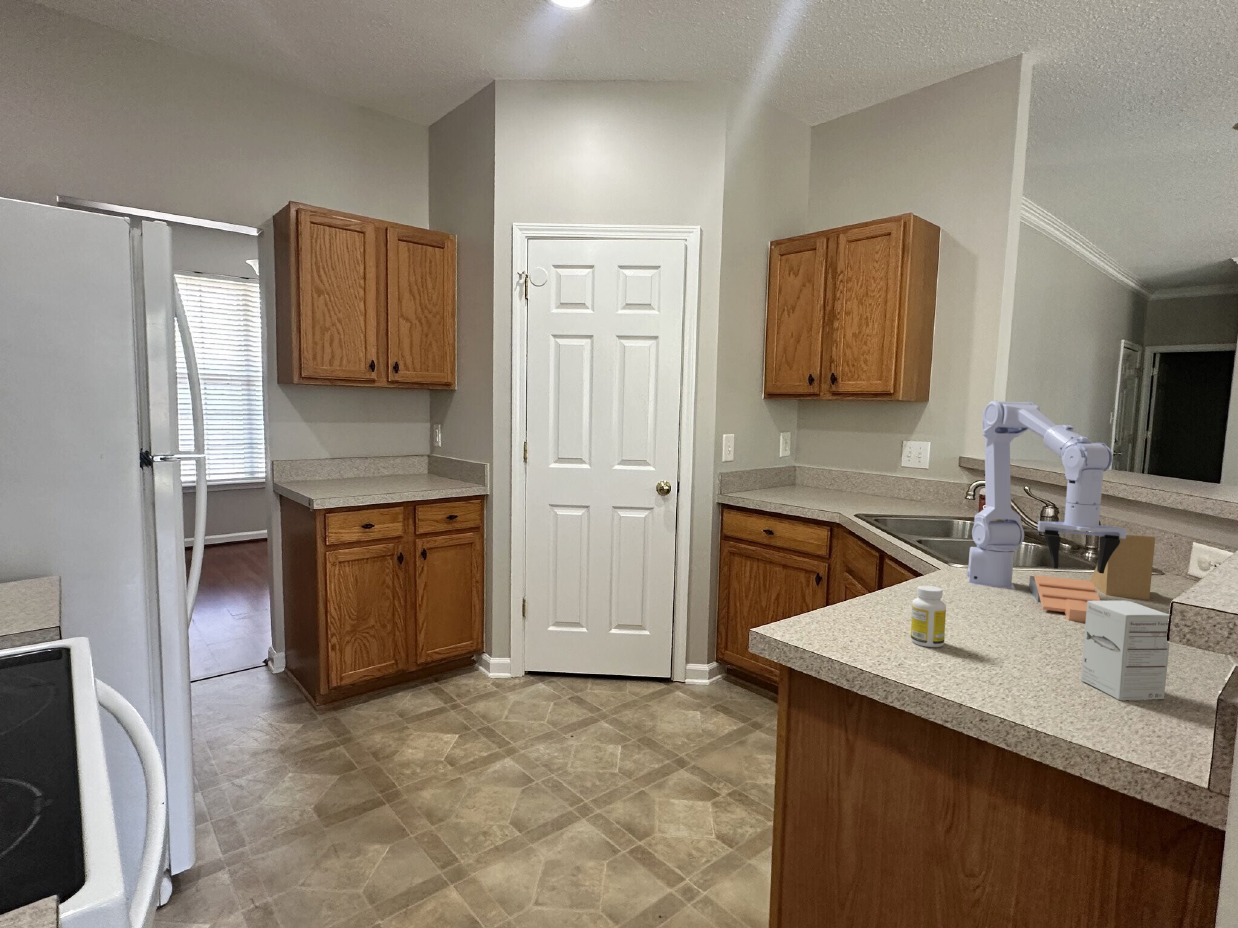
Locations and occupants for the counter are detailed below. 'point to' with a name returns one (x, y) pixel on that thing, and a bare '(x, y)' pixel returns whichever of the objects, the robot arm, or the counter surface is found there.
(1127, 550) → the sandwich container
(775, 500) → the counter surface
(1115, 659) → the supplement box
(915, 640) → the supplement bottle
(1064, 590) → the lid
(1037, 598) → the tub
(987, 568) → the robot arm
